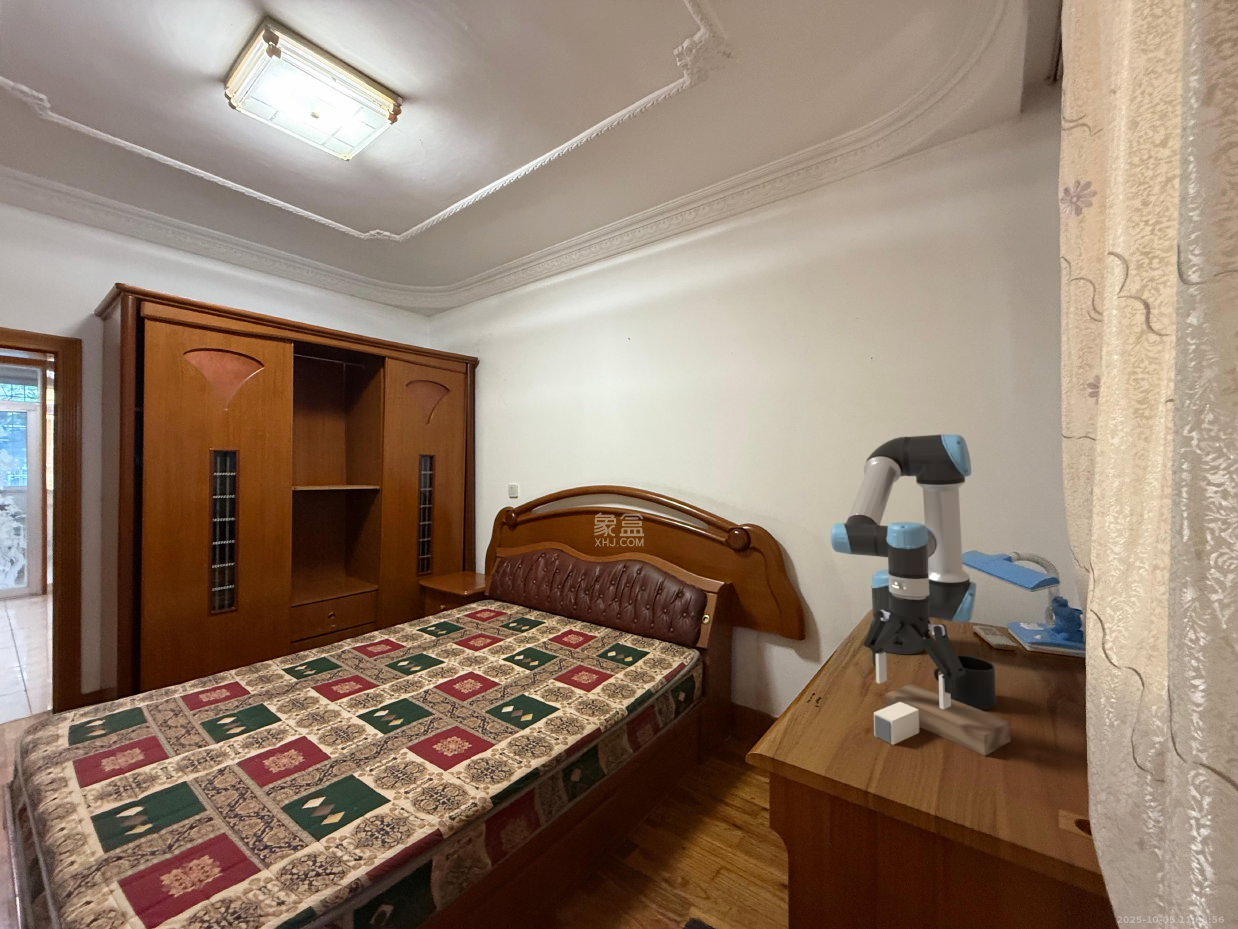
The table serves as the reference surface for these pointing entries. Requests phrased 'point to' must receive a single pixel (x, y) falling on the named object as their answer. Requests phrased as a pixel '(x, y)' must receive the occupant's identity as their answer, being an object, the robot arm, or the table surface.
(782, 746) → the table surface
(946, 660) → the robot arm
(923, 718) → the wooden plank
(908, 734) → the block
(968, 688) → the mug
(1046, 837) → the table surface
